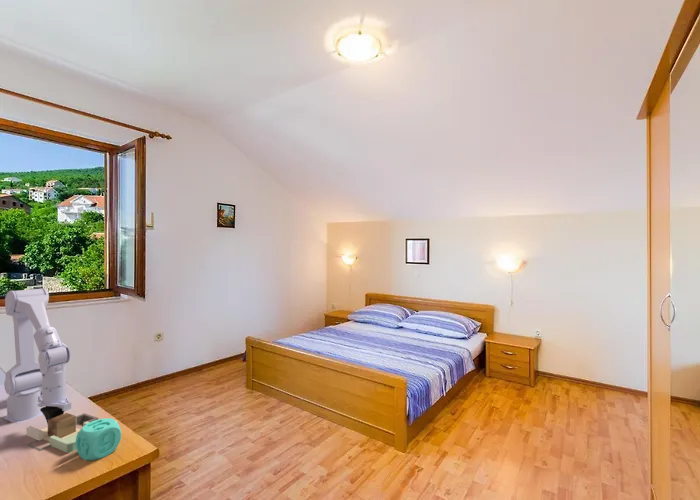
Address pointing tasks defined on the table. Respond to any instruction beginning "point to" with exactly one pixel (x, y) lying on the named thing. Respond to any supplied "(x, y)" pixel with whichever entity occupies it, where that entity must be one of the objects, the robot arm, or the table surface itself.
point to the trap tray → (63, 443)
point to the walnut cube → (62, 425)
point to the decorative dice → (98, 439)
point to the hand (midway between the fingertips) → (54, 428)
